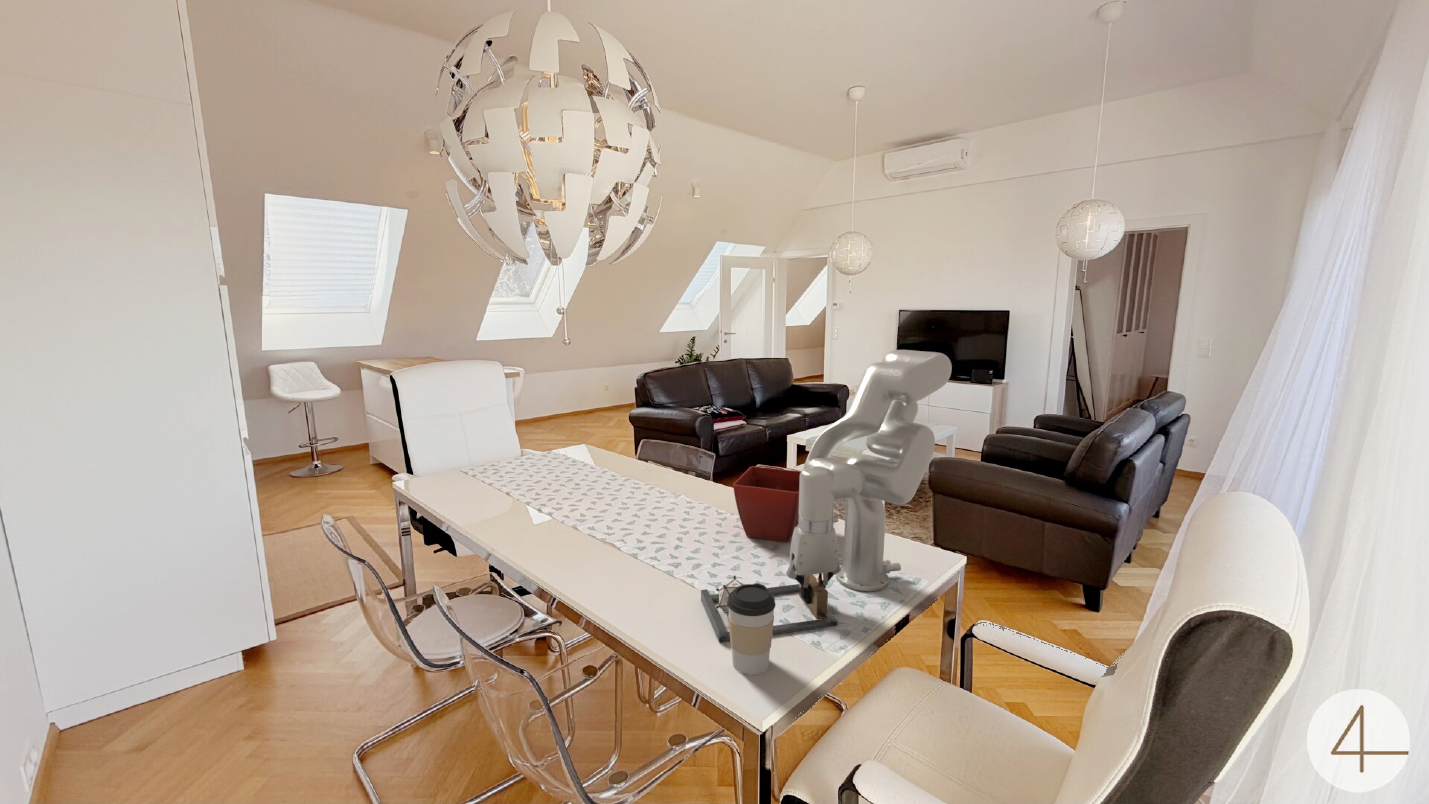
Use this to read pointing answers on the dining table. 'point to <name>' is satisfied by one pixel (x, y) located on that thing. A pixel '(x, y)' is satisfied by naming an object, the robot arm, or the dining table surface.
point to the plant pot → (768, 502)
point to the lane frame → (816, 607)
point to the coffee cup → (751, 627)
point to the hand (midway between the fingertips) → (812, 599)
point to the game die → (727, 594)
